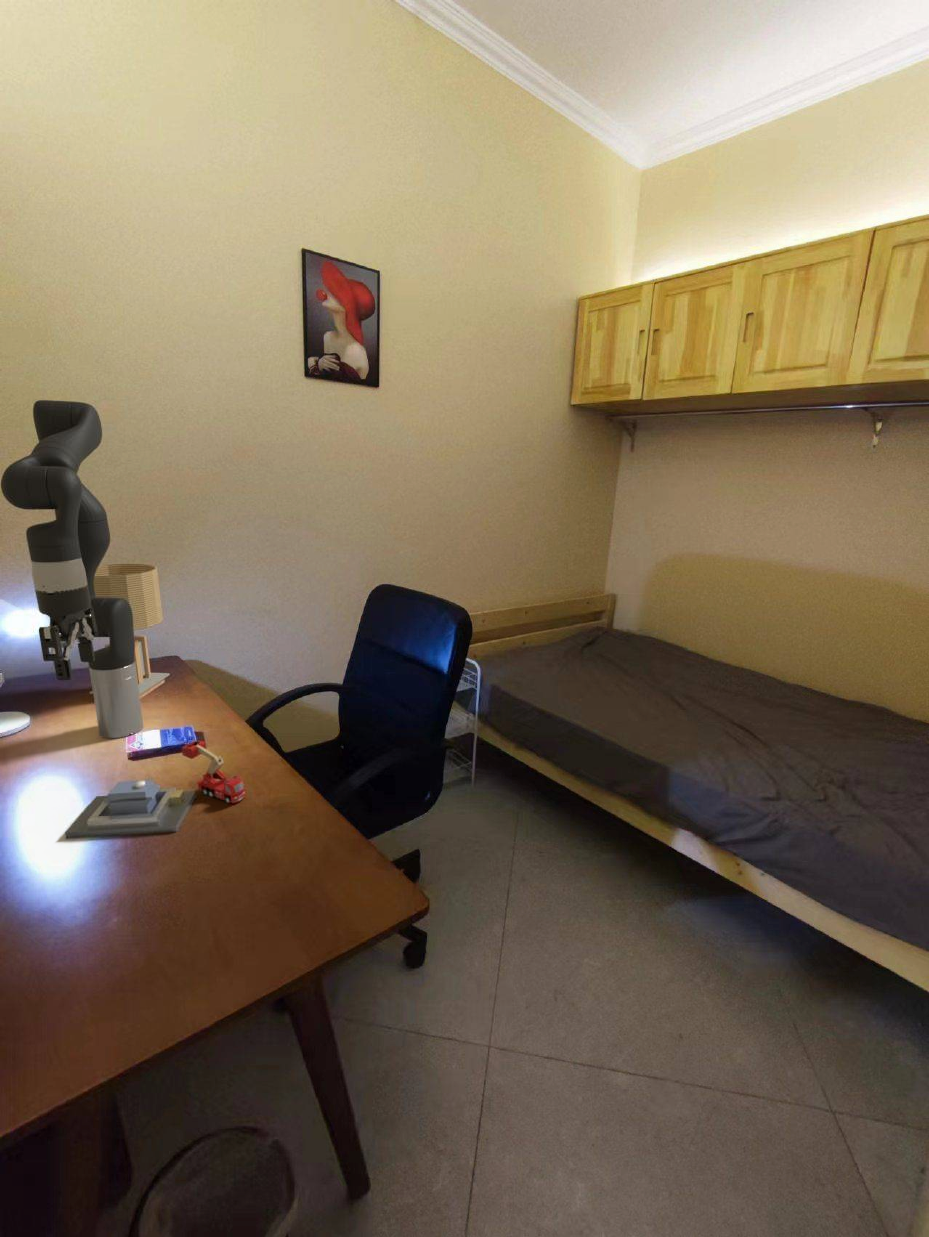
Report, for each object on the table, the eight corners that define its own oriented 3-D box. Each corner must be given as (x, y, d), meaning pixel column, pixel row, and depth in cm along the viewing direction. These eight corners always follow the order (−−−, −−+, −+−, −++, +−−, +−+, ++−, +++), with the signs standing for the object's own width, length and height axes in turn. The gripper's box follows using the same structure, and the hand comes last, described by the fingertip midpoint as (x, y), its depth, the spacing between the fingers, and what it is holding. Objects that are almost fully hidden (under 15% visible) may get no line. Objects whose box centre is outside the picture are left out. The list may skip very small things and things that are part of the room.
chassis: (97, 801, 105) (95, 789, 104) (196, 796, 107) (195, 784, 107) (66, 838, 94) (63, 825, 93) (176, 831, 97) (175, 818, 96)
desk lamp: (146, 705, 147) (130, 577, 138) (74, 702, 147) (53, 574, 138) (183, 678, 166) (171, 564, 157) (120, 676, 166) (104, 562, 157)
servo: (115, 805, 102) (111, 779, 100) (162, 802, 103) (158, 776, 102) (106, 818, 98) (102, 791, 96) (154, 815, 99) (150, 788, 98)
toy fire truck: (234, 806, 105) (231, 761, 102) (185, 787, 110) (180, 744, 108) (248, 797, 108) (244, 754, 105) (199, 779, 113) (194, 738, 111)
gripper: (58, 575, 101) (73, 656, 105) (12, 594, 87) (32, 687, 92) (103, 575, 102) (116, 655, 107) (64, 594, 89) (81, 685, 93)
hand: (77, 670), depth 99 cm, fingers open, 8 cm apart
